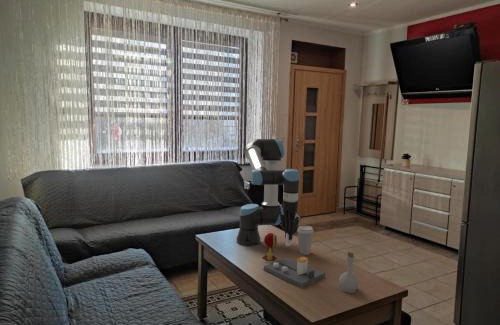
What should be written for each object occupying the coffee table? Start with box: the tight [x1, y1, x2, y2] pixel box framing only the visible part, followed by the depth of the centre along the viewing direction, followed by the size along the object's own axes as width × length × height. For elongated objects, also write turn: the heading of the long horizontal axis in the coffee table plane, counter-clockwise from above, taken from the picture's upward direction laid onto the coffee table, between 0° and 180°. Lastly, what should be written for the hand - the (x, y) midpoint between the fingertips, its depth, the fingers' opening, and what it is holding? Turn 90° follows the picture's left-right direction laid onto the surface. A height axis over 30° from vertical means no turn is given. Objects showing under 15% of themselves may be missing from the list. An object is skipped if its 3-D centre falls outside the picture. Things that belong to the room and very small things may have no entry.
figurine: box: [260, 232, 279, 264], centre depth 191 cm, size 9×10×15 cm
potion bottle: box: [338, 251, 360, 294], centre depth 159 cm, size 9×9×18 cm
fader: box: [296, 256, 309, 275], centre depth 171 cm, size 3×5×7 cm
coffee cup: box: [296, 225, 315, 256], centre depth 202 cm, size 10×10×15 cm
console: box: [263, 257, 326, 289], centre depth 175 cm, size 25×18×5 cm
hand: (288, 245), depth 177 cm, fingers closed
